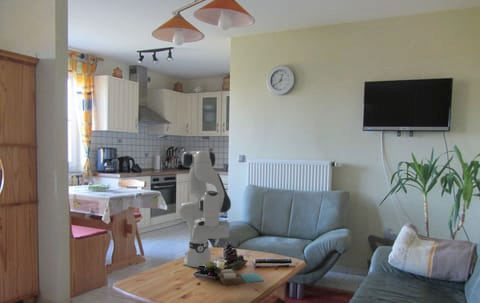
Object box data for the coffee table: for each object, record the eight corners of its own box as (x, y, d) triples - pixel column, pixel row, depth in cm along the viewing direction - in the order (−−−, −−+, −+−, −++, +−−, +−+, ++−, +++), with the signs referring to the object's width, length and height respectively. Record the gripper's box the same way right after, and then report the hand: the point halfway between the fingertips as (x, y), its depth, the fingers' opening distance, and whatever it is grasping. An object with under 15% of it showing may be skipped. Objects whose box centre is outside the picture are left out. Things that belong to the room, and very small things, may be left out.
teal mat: (240, 274, 217) (240, 274, 217) (256, 273, 220) (256, 273, 220) (246, 282, 206) (246, 281, 206) (263, 281, 208) (263, 280, 208)
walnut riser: (217, 276, 214) (217, 271, 214) (236, 274, 217) (236, 270, 217) (223, 285, 201) (223, 280, 201) (243, 283, 204) (243, 279, 204)
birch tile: (221, 273, 212) (221, 269, 212) (231, 272, 214) (231, 268, 214) (225, 278, 203) (225, 275, 203) (235, 277, 205) (235, 274, 205)
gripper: (228, 219, 211) (227, 244, 211) (191, 220, 205) (191, 245, 206) (231, 221, 205) (230, 247, 205) (193, 223, 199) (193, 249, 200)
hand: (210, 246), depth 205 cm, fingers open, 4 cm apart
